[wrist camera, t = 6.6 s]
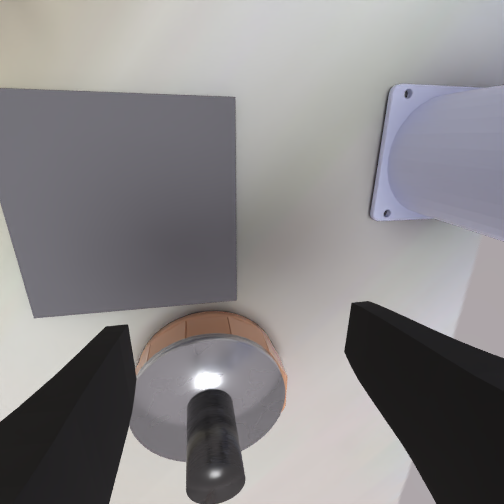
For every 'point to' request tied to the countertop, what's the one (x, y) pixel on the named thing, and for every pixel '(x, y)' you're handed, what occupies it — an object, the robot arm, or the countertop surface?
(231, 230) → the mat
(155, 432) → the lid
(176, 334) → the bowl
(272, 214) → the countertop surface
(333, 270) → the countertop surface
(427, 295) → the countertop surface
